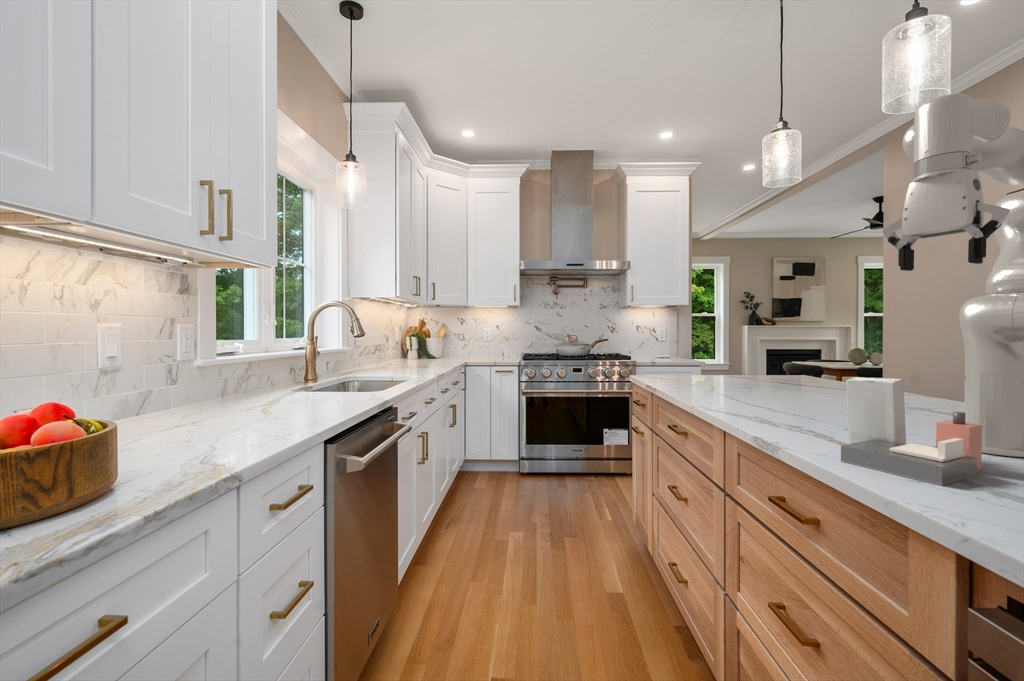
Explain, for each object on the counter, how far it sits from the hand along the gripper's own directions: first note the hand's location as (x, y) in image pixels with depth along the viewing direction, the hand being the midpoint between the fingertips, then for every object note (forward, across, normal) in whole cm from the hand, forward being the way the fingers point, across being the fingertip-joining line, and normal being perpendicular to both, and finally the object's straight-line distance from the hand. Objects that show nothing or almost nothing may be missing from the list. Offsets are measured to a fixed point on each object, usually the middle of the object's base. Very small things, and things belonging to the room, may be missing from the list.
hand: (939, 266), depth 81 cm
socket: (+36, +2, +6) cm, 37 cm away
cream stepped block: (+33, -1, +4) cm, 33 cm away
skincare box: (+36, +11, -3) cm, 38 cm away
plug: (+36, -2, -3) cm, 36 cm away
